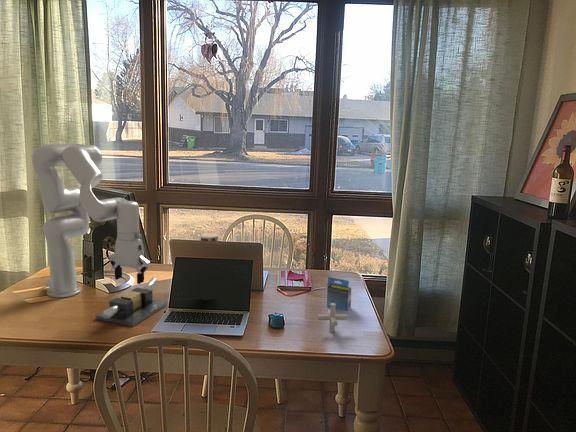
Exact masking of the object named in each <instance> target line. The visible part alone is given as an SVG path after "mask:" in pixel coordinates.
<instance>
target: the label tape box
mask: <svg viewBox="0 0 576 432" xmlns="http://www.w3.org/2000/svg"><path fill="white" fill-rule="evenodd" d="M338 282H339V283H338ZM349 282H350V281H349V280H346V279H341V278H336V277H332V276H328V277H327V283H326V284H327V290H326V292H327V294H326V295H327V296H326V307H329V308H330V304H331V303H335V304H336V309H339V310H343V311H349V310H350V309H351V307H352V306H351V305H352V287H350V286H349Z"/></svg>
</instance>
